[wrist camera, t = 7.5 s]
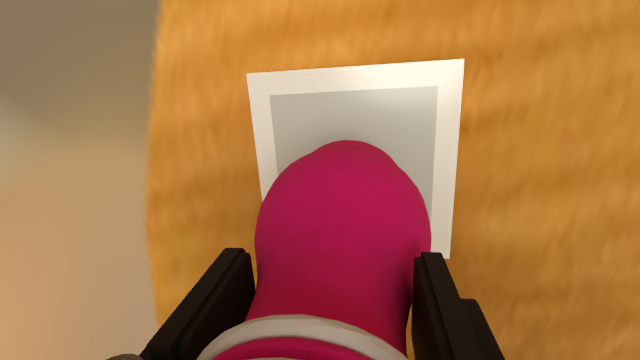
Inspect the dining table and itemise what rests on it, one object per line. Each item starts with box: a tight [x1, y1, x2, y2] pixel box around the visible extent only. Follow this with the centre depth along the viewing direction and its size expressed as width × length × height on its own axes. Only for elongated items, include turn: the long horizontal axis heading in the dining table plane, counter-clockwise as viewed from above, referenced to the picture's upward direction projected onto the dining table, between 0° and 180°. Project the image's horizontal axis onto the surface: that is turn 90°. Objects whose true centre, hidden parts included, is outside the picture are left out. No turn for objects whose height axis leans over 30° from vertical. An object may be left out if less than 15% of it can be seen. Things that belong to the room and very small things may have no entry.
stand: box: [246, 59, 464, 259], centre depth 24 cm, size 14×14×3 cm
